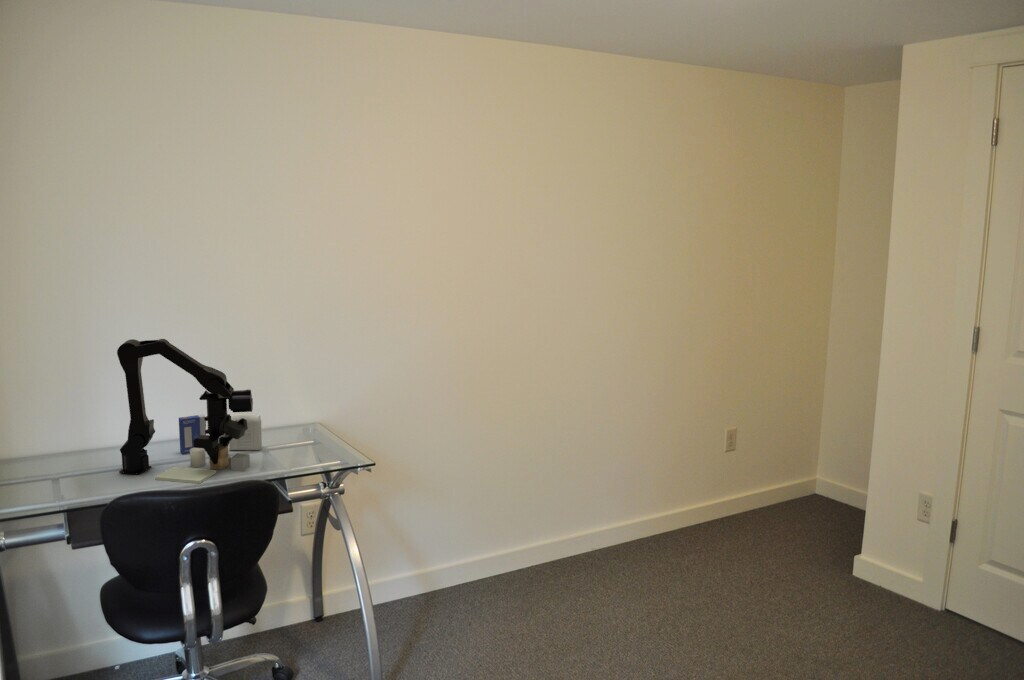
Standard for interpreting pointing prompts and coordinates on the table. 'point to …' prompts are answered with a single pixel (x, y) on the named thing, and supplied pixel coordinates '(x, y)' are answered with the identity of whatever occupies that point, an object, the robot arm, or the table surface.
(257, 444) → the photo printer
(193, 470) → the sage board
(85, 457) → the table surface
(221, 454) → the oak block
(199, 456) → the white cylinder
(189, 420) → the walkman
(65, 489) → the table surface
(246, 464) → the grey cube
